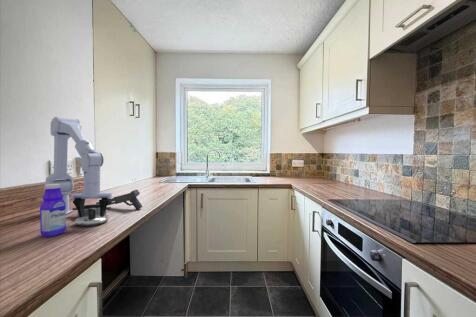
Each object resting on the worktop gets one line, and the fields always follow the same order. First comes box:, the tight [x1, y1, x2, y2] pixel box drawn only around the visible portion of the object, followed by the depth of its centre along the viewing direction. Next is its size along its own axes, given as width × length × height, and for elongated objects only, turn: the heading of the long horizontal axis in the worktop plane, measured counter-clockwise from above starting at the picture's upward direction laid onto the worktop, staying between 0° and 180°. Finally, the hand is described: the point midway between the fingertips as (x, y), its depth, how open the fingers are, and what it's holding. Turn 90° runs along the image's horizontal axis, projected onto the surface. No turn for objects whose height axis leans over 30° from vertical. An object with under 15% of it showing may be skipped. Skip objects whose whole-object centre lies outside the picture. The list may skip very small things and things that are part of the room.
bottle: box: [39, 184, 67, 238], centre depth 84 cm, size 7×6×17 cm
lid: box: [74, 208, 109, 227], centre depth 98 cm, size 12×12×6 cm
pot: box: [71, 203, 112, 218], centre depth 109 cm, size 15×11×4 cm
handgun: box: [95, 189, 144, 211], centre depth 124 cm, size 4×24×10 cm, turn 80°
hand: (92, 216), depth 98 cm, fingers open, 7 cm apart
